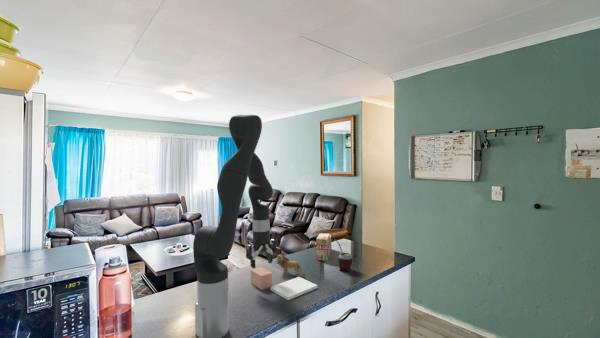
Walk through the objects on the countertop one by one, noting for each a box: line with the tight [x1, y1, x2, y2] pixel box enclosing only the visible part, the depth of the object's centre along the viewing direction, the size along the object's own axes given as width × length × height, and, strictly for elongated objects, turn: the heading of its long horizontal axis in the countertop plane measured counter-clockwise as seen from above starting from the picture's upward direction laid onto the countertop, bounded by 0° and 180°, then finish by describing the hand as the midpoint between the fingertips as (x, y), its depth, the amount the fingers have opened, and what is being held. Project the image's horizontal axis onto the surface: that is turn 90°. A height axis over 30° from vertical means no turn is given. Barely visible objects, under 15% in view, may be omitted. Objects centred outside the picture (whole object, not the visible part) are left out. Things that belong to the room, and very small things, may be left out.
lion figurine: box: [275, 254, 306, 277], centre depth 129 cm, size 15×5×9 cm, turn 71°
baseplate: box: [269, 276, 318, 301], centre depth 114 cm, size 16×12×1 cm
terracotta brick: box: [250, 266, 273, 291], centre depth 118 cm, size 6×9×6 cm, turn 40°
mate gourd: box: [334, 238, 353, 274], centre depth 134 cm, size 8×8×15 cm
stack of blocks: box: [315, 232, 332, 262], centre depth 158 cm, size 21×6×12 cm, turn 167°
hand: (261, 265), depth 118 cm, fingers open, 8 cm apart
